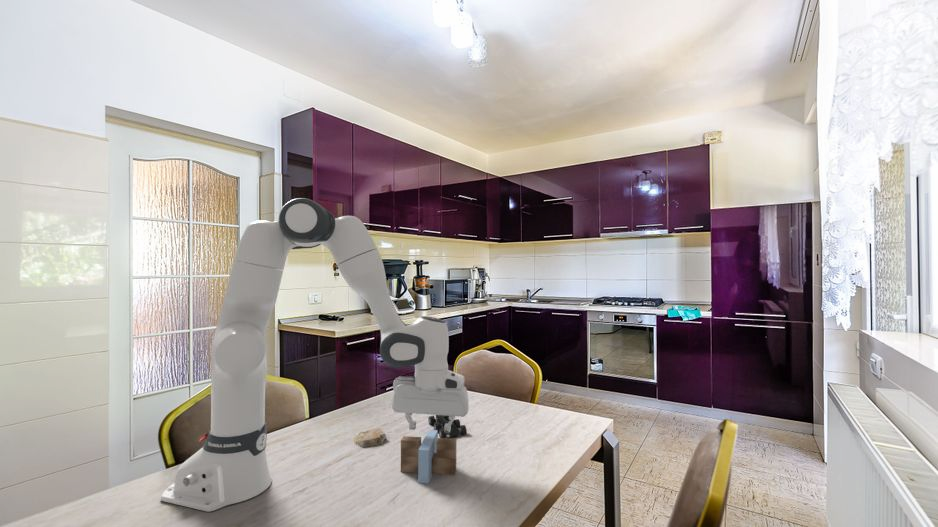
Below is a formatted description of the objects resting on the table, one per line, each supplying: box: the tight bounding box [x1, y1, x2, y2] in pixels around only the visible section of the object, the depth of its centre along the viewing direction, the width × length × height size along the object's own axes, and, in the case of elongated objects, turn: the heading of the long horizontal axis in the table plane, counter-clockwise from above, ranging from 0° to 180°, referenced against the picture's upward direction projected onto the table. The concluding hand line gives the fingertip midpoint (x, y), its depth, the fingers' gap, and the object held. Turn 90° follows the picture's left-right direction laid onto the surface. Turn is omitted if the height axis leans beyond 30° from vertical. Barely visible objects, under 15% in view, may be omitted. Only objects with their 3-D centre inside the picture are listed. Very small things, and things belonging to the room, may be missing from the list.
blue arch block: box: [417, 429, 439, 484], centre depth 103 cm, size 12×2×8 cm, turn 174°
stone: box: [352, 427, 387, 448], centre depth 121 cm, size 9×6×2 cm
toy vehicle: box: [427, 415, 468, 438], centre depth 130 cm, size 8×15×9 cm, turn 22°
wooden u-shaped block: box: [400, 435, 457, 476], centre depth 103 cm, size 14×2×8 cm, turn 84°
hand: (429, 430), depth 107 cm, fingers open, 8 cm apart
